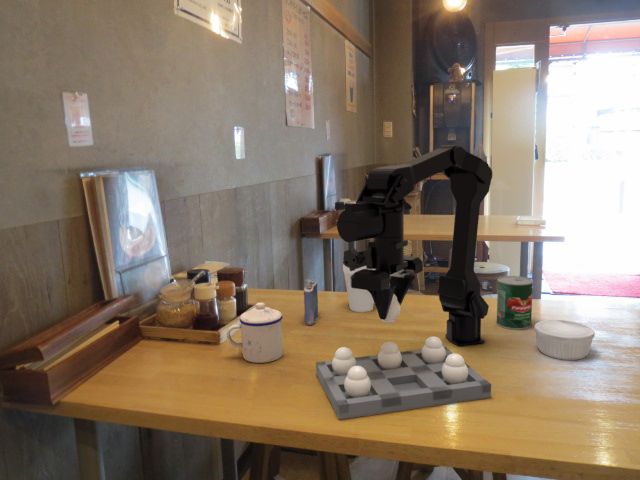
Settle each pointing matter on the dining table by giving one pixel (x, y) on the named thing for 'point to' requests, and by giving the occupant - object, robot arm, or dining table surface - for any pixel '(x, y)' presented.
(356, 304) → the foam cup
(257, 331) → the teacup with lid
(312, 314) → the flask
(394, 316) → the cream game piece
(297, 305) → the dining table surface
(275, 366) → the dining table surface
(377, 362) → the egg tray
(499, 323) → the canned tomato
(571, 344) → the ramekin
